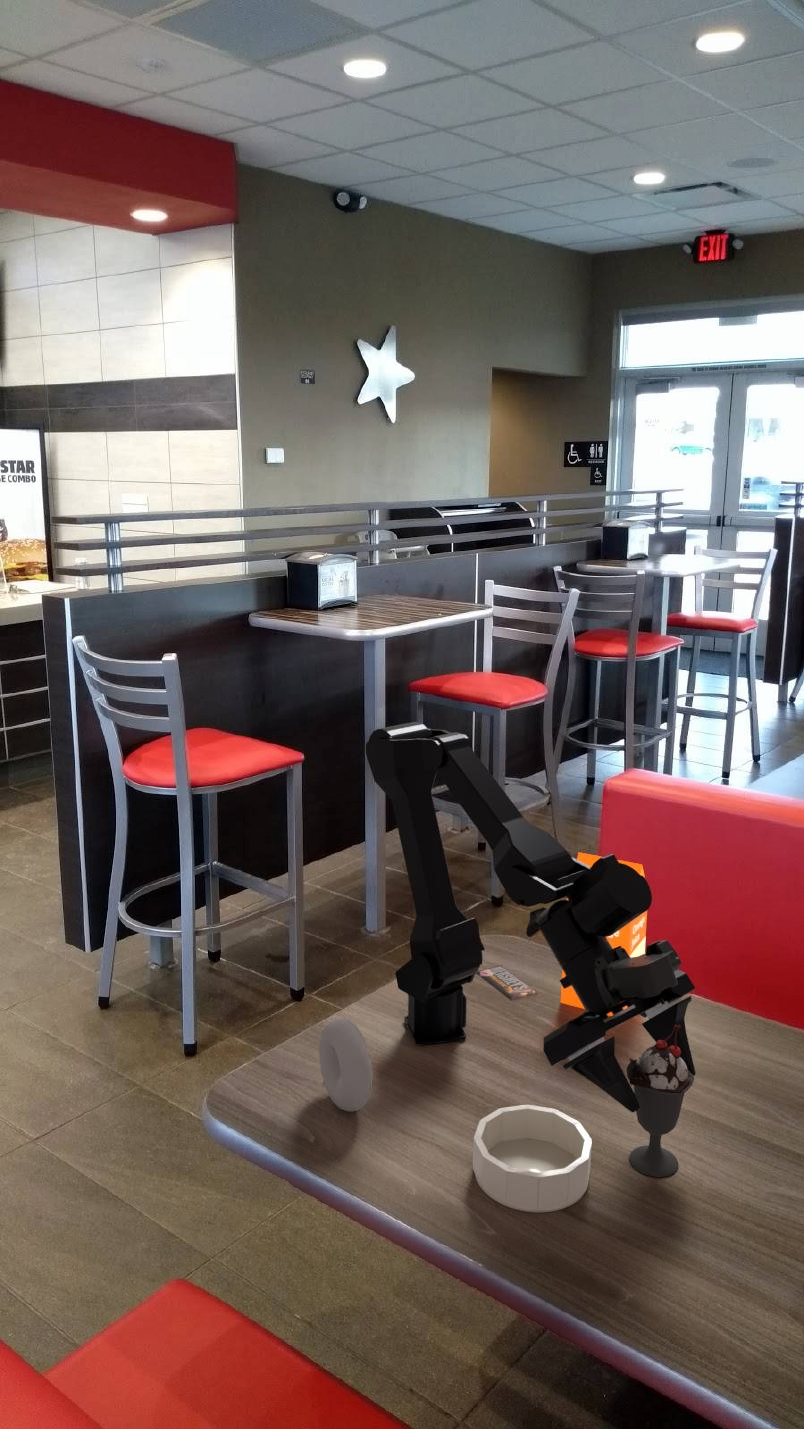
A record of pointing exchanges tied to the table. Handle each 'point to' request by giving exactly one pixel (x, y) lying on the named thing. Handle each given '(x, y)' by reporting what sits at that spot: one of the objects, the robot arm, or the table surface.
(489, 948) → the table surface
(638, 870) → the orange juice
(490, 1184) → the white faceted bowl
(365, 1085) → the donut
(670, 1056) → the sundae
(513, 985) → the chocolate bar
